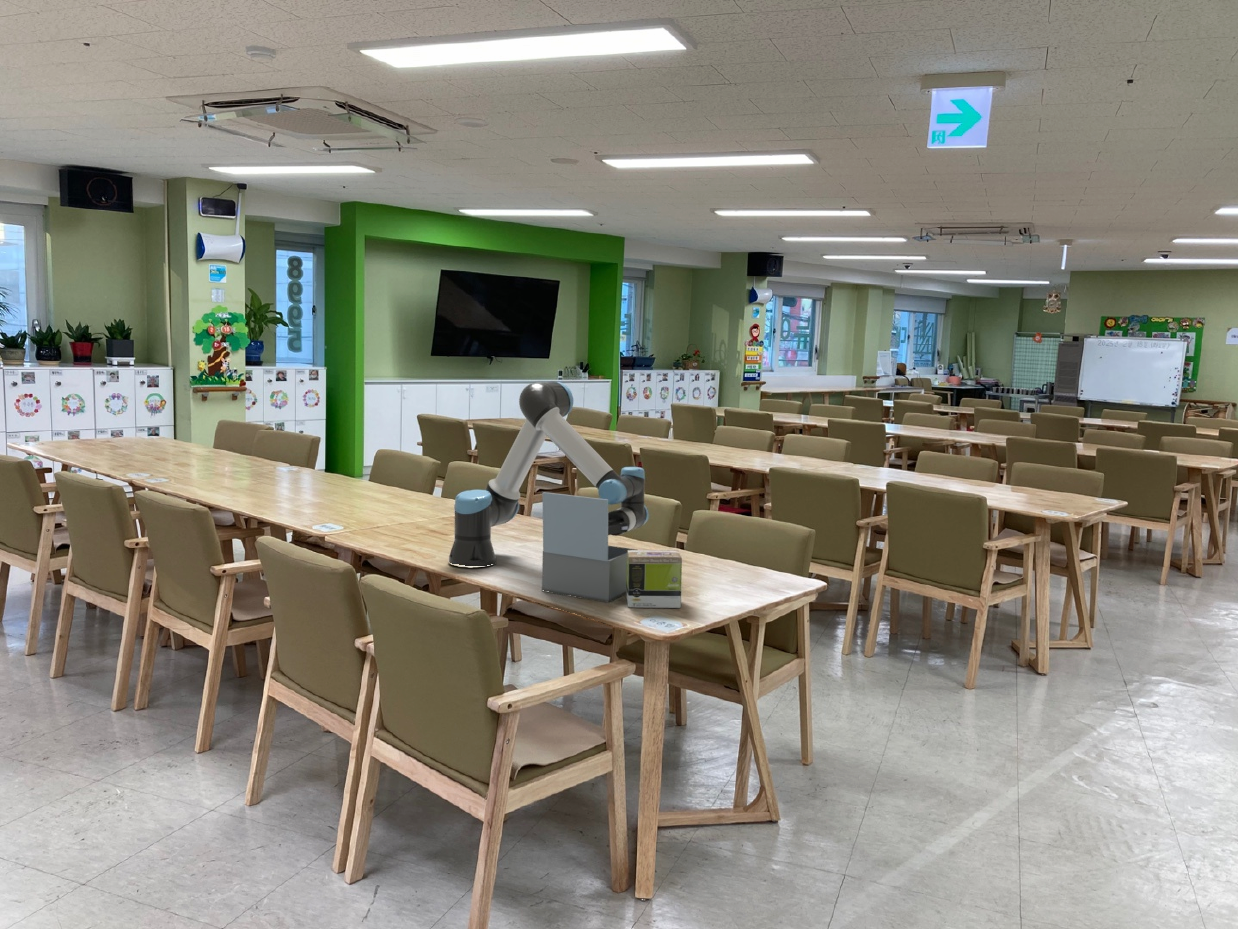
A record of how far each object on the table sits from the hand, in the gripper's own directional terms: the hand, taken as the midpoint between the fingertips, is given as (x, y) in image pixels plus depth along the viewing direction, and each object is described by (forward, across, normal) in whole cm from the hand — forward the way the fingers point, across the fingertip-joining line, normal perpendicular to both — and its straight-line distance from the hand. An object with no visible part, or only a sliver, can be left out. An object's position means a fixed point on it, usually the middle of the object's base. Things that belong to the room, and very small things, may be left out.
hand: (583, 534), depth 269 cm
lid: (0, +2, +2) cm, 3 cm away
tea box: (-5, -20, -19) cm, 28 cm away
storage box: (-9, +2, -18) cm, 21 cm away
